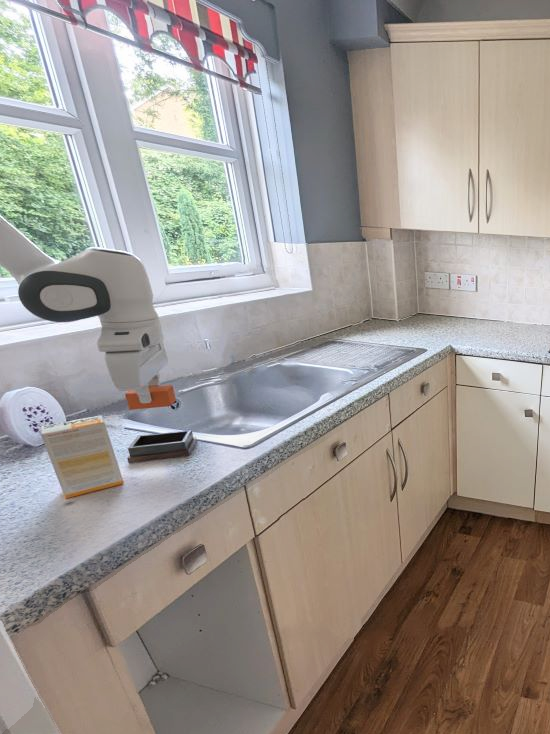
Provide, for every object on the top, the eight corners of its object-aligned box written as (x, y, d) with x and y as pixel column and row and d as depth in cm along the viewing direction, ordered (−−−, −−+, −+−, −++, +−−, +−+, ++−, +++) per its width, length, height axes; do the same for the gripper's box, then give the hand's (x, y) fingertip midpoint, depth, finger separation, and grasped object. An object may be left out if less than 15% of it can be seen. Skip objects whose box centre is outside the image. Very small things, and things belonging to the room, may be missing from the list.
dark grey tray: (128, 463, 94) (124, 449, 93) (140, 448, 101) (136, 434, 99) (189, 455, 98) (186, 442, 97) (197, 441, 105) (194, 428, 104)
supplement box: (121, 474, 90) (103, 413, 85) (124, 484, 87) (105, 421, 82) (63, 489, 84) (40, 424, 80) (63, 499, 81) (39, 433, 77)
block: (129, 410, 93) (124, 394, 91) (135, 403, 96) (131, 387, 95) (171, 406, 95) (167, 390, 94) (176, 400, 99) (172, 384, 98)
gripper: (131, 323, 98) (148, 384, 103) (92, 345, 80) (113, 417, 85) (167, 322, 100) (181, 381, 105) (136, 343, 83) (155, 413, 88)
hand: (151, 397), depth 95 cm, fingers closed on block, 4 cm apart
